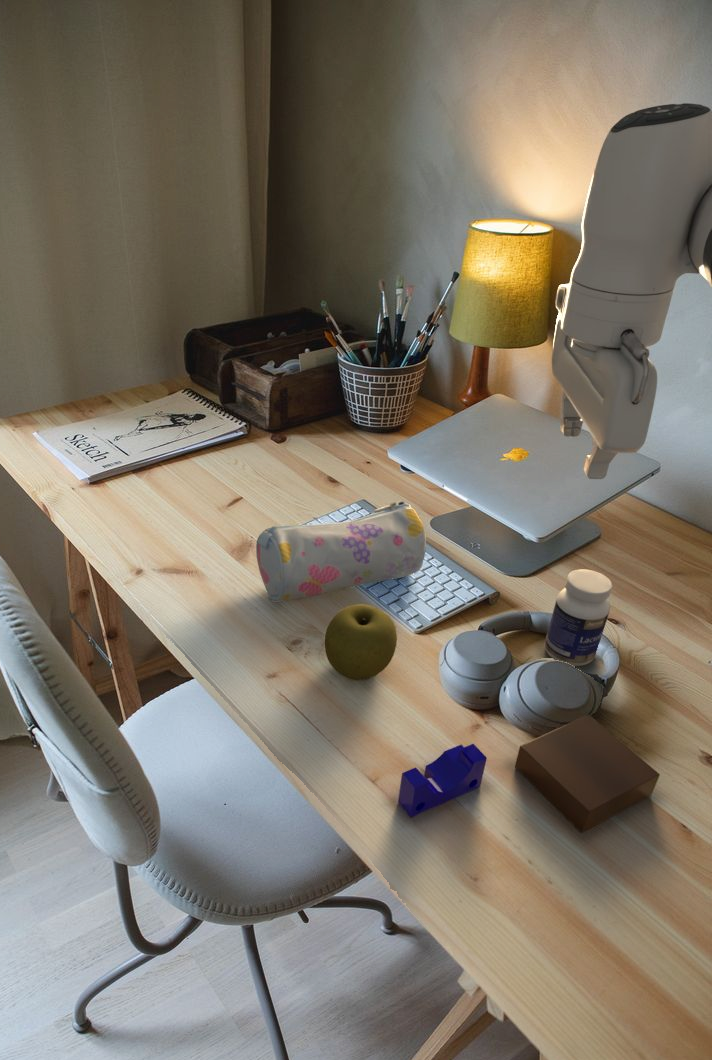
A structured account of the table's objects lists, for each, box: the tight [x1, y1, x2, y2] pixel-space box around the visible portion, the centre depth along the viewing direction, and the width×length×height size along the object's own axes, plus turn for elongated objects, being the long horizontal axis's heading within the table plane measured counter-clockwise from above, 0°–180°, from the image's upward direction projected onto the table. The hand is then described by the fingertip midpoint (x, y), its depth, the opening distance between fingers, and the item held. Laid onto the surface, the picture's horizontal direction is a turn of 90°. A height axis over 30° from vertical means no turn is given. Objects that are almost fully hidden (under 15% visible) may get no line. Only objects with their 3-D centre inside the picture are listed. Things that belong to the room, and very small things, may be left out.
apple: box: [323, 603, 398, 681], centre depth 89 cm, size 8×8×7 cm
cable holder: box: [397, 743, 488, 818], centre depth 76 cm, size 8×4×4 cm, turn 118°
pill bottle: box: [544, 568, 613, 667], centre depth 91 cm, size 6×6×10 cm
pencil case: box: [255, 500, 427, 603], centre depth 101 cm, size 21×9×10 cm, turn 113°
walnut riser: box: [514, 714, 661, 833], centre depth 78 cm, size 9×9×3 cm
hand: (581, 453), depth 83 cm, fingers open, 8 cm apart
